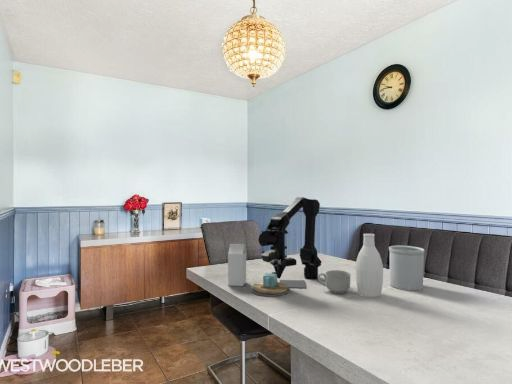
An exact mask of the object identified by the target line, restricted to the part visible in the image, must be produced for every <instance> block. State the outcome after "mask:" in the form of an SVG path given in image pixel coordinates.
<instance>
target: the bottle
mask: <svg viewBox="0 0 512 384" xmlns="http://www.w3.org/2000/svg"><path fill="white" fill-rule="evenodd" d="M362 243H363V245H362V247H361V248H360V251H358V254H357V258H356V260H355V281H356V287H357V288H356V289H357V293H358V294H359V295H360V296H361V297H364V298H373V299H374V298H378V297H380V296H382V290H383V289H382V288H383V285H384V267H383V266H384V265H383V260H382V257H381V254H380V252H379V251H378V249H377V247H376V246H375V243H376V242H375V234H374V233H363V242H362Z"/></svg>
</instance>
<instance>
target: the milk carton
mask: <svg viewBox="0 0 512 384" xmlns="http://www.w3.org/2000/svg"><path fill="white" fill-rule="evenodd" d="M227 279H228V280H227V282H228V283H227V285H228V286H231V287H243V286H244V285H246V283H247V250H246V247H245V244H243V243H229V248H228V252H227Z"/></svg>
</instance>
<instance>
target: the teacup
mask: <svg viewBox="0 0 512 384" xmlns="http://www.w3.org/2000/svg"><path fill="white" fill-rule="evenodd" d="M351 275H352V274H351V273H350V272H348V271H344V270H337V269H333V270H327V271H326V272H325V273H323V272H320V273H318V279H317V280H318V282H320V283H321V284H322V285H324V287H326V288H327V289H328V291H330V292H331V293H334V294H344V293H346V292H347V291H349V289H350V287H351ZM321 276H323V277H324V279H325V280H322V279H321Z"/></svg>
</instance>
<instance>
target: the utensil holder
mask: <svg viewBox="0 0 512 384" xmlns="http://www.w3.org/2000/svg"><path fill="white" fill-rule="evenodd" d="M388 251H389V285H390V286H391V287H393V288H395V289H399V290H403V291H421V290H423V287H424V271H425V270H424V266H425V262H424V261H425V259H424V258H425V252H426V251H425V249H424V248H422V247H418V246H412V245H391V246H388Z"/></svg>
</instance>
